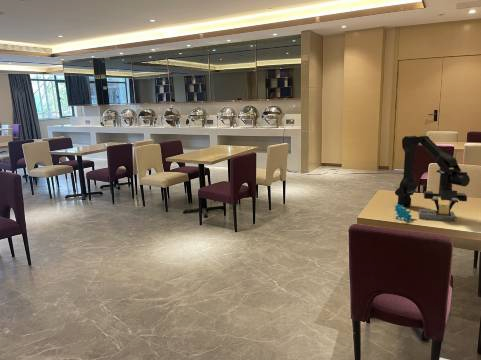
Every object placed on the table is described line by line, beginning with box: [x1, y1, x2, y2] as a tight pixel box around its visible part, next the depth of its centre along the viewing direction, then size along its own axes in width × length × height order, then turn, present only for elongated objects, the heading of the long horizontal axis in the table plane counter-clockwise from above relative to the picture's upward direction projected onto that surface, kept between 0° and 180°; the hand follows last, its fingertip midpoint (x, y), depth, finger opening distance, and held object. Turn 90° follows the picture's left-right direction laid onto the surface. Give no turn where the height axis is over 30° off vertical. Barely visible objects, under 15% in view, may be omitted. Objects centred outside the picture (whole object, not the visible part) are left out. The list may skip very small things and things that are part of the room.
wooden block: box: [438, 203, 449, 216], centre depth 187 cm, size 4×4×5 cm
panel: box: [418, 208, 457, 223], centre depth 189 cm, size 16×9×3 cm, turn 68°
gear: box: [394, 204, 412, 223], centre depth 188 cm, size 11×6×10 cm
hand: (443, 212), depth 188 cm, fingers closed on wooden block, 4 cm apart
